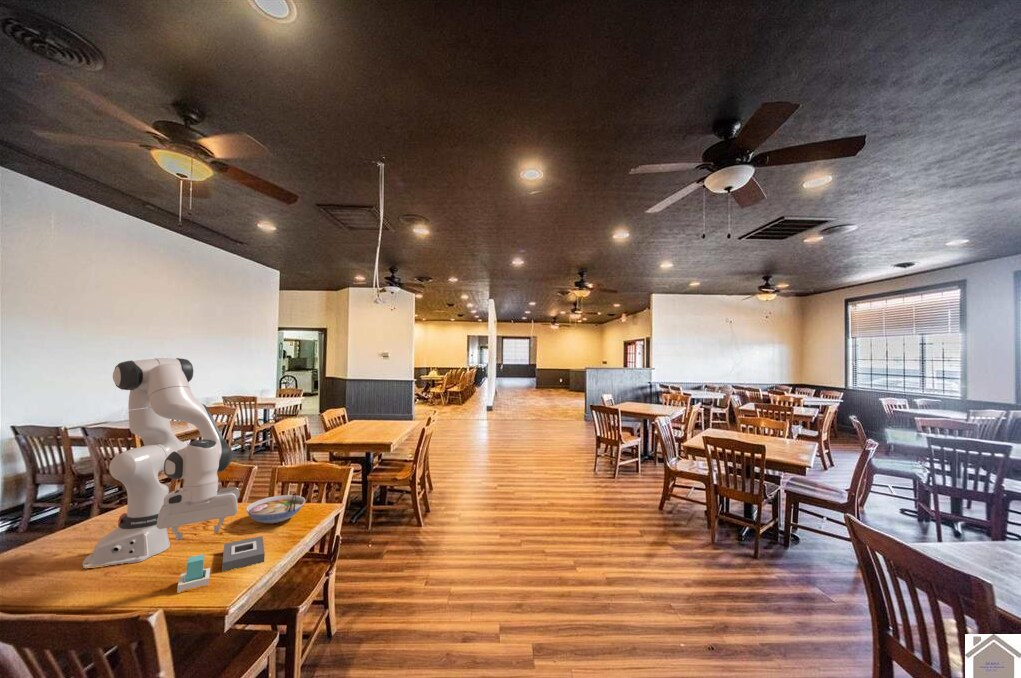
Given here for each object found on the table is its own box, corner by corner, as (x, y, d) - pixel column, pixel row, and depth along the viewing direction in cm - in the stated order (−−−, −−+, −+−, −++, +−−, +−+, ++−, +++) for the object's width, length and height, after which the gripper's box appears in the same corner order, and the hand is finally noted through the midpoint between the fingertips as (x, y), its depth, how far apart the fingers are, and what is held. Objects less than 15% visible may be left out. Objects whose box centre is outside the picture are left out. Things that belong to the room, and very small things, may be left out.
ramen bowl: (250, 514, 177) (251, 496, 177) (306, 507, 186) (307, 490, 187) (238, 537, 154) (240, 516, 155) (302, 527, 164) (303, 508, 164)
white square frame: (177, 594, 116) (177, 585, 117) (180, 582, 122) (180, 574, 123) (208, 586, 121) (208, 578, 121) (209, 575, 127) (210, 567, 127)
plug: (185, 589, 119) (187, 563, 119) (186, 583, 122) (188, 557, 123) (201, 585, 121) (203, 559, 122) (202, 579, 124) (204, 554, 125)
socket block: (222, 571, 129) (222, 561, 129) (223, 552, 142) (224, 542, 142) (264, 562, 136) (264, 552, 136) (262, 543, 149) (262, 535, 149)
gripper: (240, 483, 132) (238, 524, 131) (160, 494, 120) (157, 540, 119) (240, 488, 127) (238, 530, 126) (156, 500, 115) (154, 548, 114)
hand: (198, 535), depth 122 cm, fingers open, 8 cm apart
